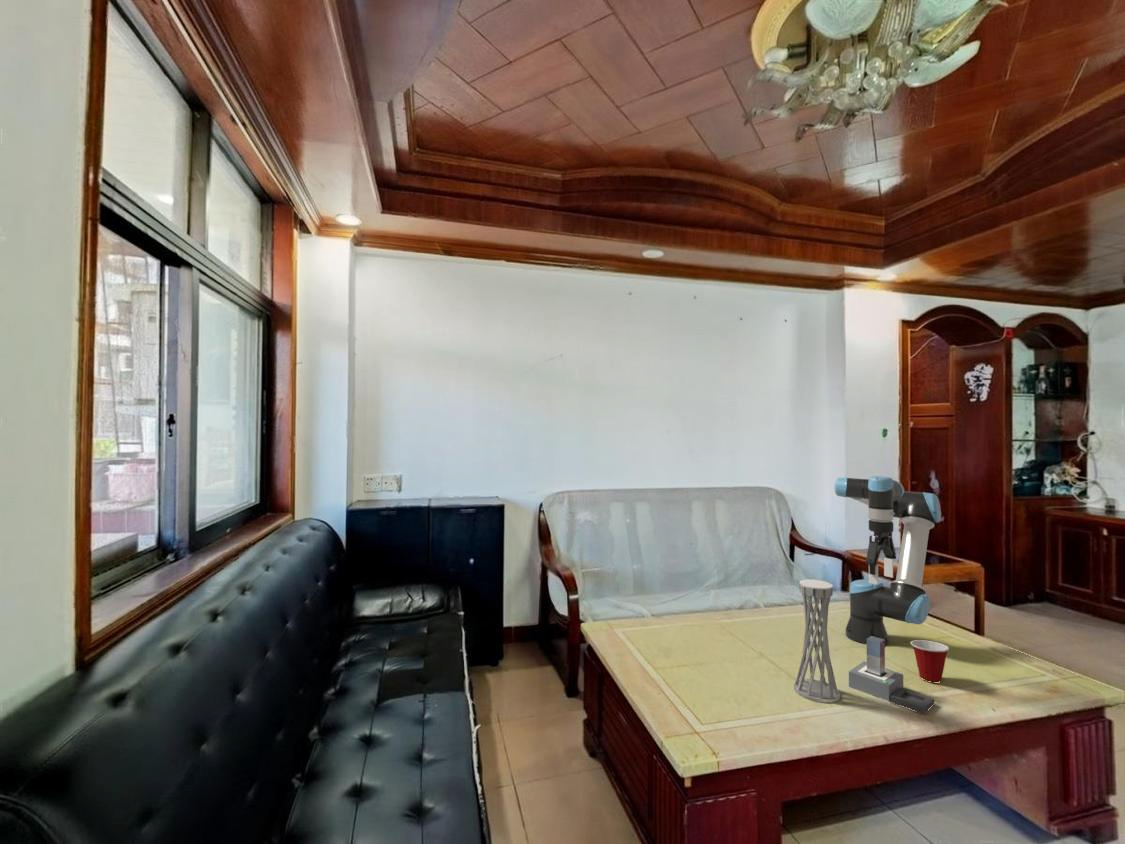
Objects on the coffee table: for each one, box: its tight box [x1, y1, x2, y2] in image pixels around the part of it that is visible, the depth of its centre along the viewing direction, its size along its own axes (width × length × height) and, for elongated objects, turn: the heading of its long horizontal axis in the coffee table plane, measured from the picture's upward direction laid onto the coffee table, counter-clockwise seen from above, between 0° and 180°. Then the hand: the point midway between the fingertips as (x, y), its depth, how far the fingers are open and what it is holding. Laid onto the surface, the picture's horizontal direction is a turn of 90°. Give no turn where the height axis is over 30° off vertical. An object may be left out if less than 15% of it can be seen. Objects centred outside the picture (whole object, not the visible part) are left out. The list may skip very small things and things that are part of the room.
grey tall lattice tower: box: [793, 578, 841, 704], centre depth 168 cm, size 14×13×35 cm
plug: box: [866, 636, 886, 678], centre depth 171 cm, size 4×4×15 cm
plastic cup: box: [910, 639, 950, 682], centre depth 177 cm, size 11×11×12 cm
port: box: [848, 661, 904, 701], centre depth 171 cm, size 12×12×5 cm
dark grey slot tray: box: [889, 687, 935, 715], centre depth 161 cm, size 9×9×2 cm
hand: (881, 580), depth 184 cm, fingers open, 13 cm apart
